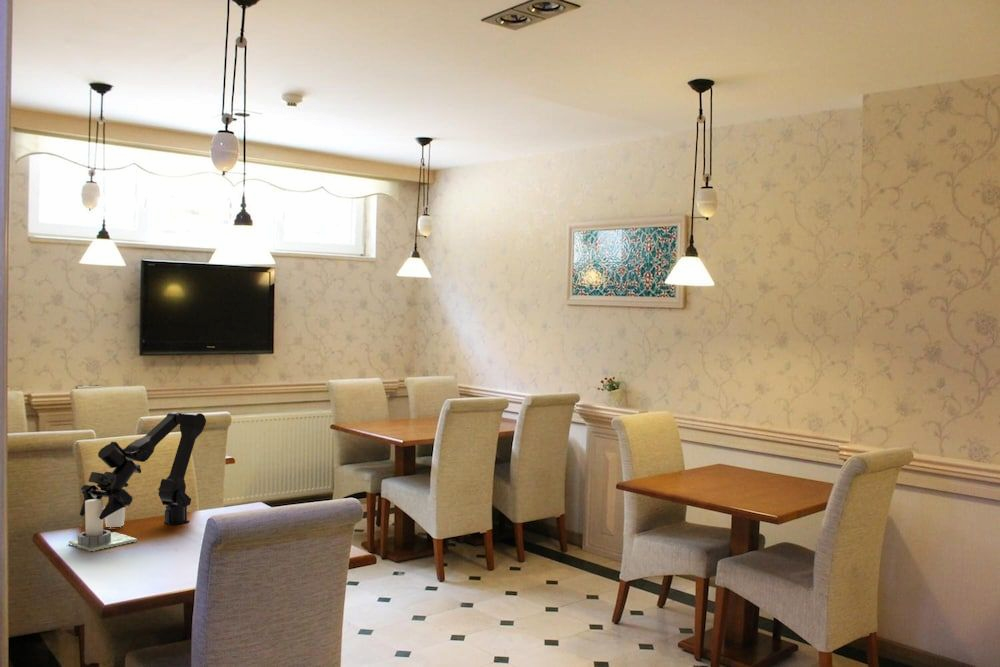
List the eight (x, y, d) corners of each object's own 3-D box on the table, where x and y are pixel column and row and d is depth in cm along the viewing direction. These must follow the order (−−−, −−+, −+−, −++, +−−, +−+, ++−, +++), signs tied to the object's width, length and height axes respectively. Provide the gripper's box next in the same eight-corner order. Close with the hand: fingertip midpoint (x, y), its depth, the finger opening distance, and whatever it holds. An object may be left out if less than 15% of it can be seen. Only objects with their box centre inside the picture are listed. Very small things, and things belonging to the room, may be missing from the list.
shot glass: (119, 528, 290) (119, 508, 290) (100, 528, 291) (99, 508, 290) (129, 524, 297) (129, 504, 297) (109, 523, 297) (109, 503, 297)
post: (102, 538, 274) (102, 498, 274) (103, 542, 269) (102, 501, 269) (85, 540, 272) (84, 499, 271) (86, 544, 267) (85, 503, 267)
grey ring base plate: (114, 534, 282) (114, 524, 282) (136, 541, 274) (136, 530, 274) (68, 544, 271) (68, 533, 270) (90, 551, 262) (90, 540, 262)
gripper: (85, 459, 278) (54, 499, 268) (124, 464, 269) (93, 505, 260) (106, 479, 285) (77, 519, 275) (145, 484, 276) (116, 525, 267)
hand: (90, 517), depth 269 cm, fingers open, 9 cm apart
